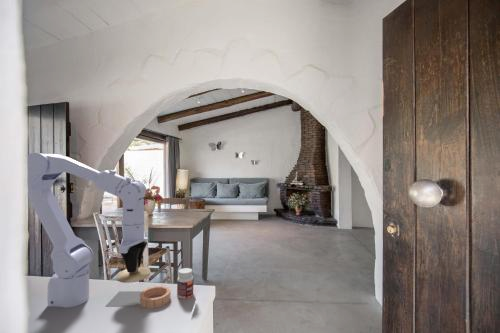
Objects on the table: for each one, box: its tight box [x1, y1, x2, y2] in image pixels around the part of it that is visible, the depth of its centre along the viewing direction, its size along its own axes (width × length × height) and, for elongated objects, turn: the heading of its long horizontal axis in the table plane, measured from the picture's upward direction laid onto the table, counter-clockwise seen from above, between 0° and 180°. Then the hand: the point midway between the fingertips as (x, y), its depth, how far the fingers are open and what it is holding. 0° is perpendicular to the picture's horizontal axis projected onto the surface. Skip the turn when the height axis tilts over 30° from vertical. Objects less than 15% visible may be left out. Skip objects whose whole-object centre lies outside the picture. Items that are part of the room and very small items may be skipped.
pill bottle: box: [176, 267, 195, 300], centre depth 80 cm, size 5×5×8 cm
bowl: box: [139, 285, 171, 309], centre depth 77 cm, size 8×8×3 cm
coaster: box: [105, 290, 143, 307], centre depth 78 cm, size 8×8×1 cm
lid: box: [116, 260, 151, 284], centre depth 78 cm, size 9×9×5 cm
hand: (133, 269), depth 78 cm, fingers closed on lid, 2 cm apart
